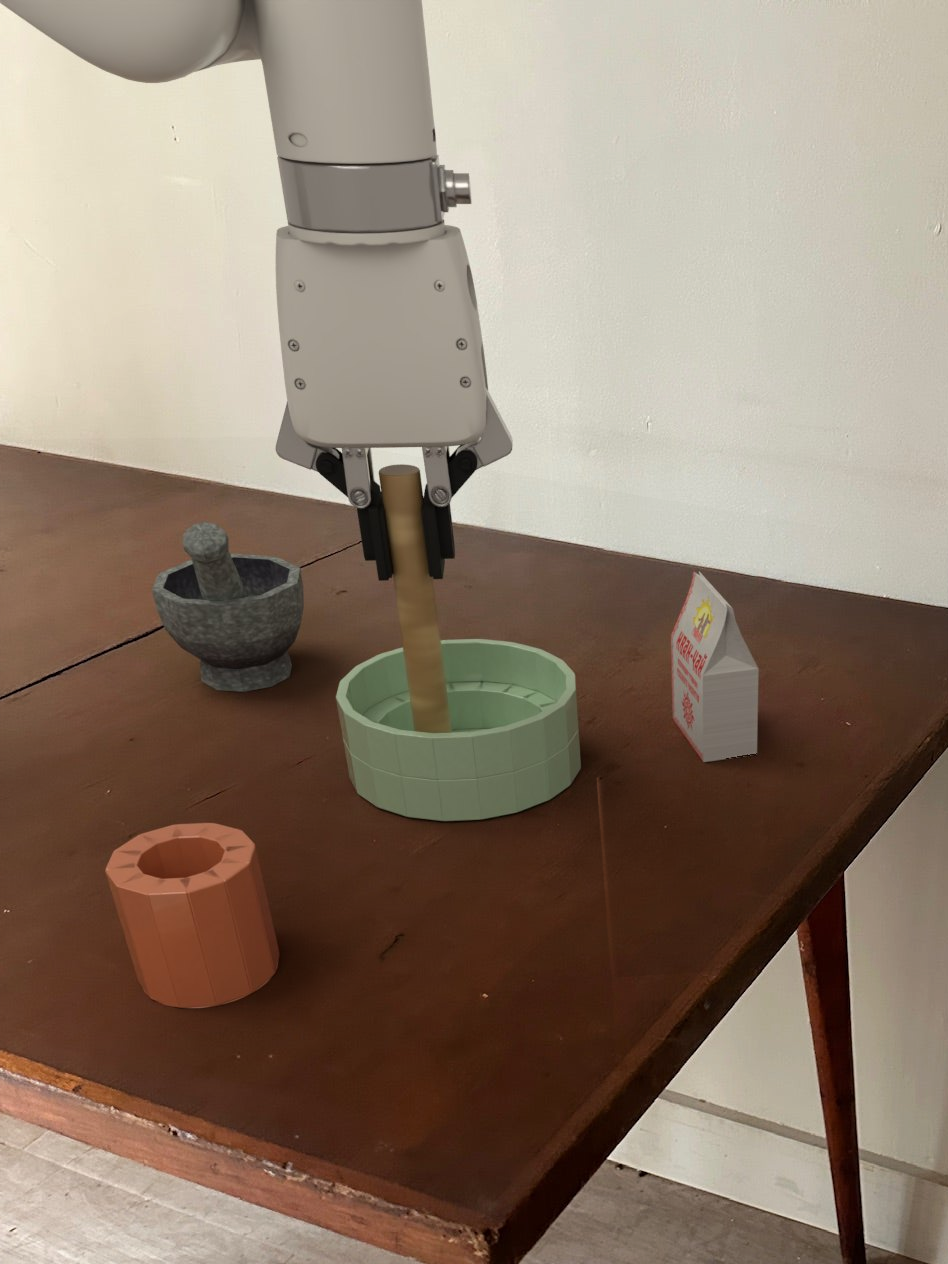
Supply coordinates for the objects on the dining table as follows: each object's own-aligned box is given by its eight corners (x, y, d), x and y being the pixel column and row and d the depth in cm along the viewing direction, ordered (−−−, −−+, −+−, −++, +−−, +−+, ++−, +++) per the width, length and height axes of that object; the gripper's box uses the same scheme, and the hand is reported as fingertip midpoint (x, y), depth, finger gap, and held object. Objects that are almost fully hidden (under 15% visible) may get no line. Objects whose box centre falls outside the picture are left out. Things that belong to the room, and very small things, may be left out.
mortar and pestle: (187, 649, 105) (147, 481, 97) (319, 643, 106) (290, 477, 99) (165, 715, 96) (120, 536, 89) (310, 707, 97) (277, 530, 90)
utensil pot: (130, 1019, 69) (91, 897, 65) (158, 943, 75) (124, 825, 70) (270, 1011, 70) (241, 890, 66) (288, 936, 75) (262, 819, 71)
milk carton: (723, 711, 98) (724, 568, 92) (756, 754, 93) (759, 605, 87) (672, 718, 97) (669, 573, 91) (703, 762, 92) (702, 612, 86)
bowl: (340, 835, 84) (323, 741, 80) (363, 728, 95) (349, 642, 91) (584, 824, 86) (578, 732, 82) (578, 720, 97) (573, 635, 93)
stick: (417, 763, 87) (376, 476, 77) (419, 747, 89) (380, 464, 78) (453, 762, 87) (418, 475, 77) (455, 746, 89) (421, 463, 79)
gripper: (529, 189, 74) (553, 546, 85) (207, 187, 72) (275, 552, 83) (529, 212, 68) (556, 592, 79) (178, 211, 66) (256, 600, 77)
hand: (412, 569), depth 81 cm, fingers closed on stick, 2 cm apart
